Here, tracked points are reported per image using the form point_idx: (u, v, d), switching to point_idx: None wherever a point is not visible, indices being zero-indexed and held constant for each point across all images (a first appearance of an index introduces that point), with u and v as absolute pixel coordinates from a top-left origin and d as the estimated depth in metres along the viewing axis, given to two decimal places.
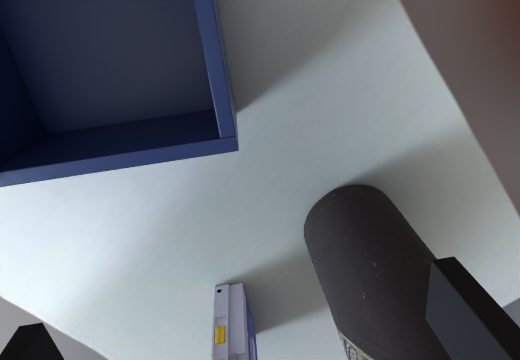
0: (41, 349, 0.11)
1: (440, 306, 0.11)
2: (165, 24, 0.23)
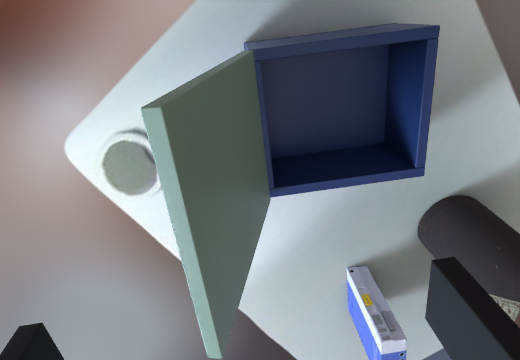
0: (41, 349, 0.11)
1: (440, 306, 0.11)
2: (360, 91, 0.35)
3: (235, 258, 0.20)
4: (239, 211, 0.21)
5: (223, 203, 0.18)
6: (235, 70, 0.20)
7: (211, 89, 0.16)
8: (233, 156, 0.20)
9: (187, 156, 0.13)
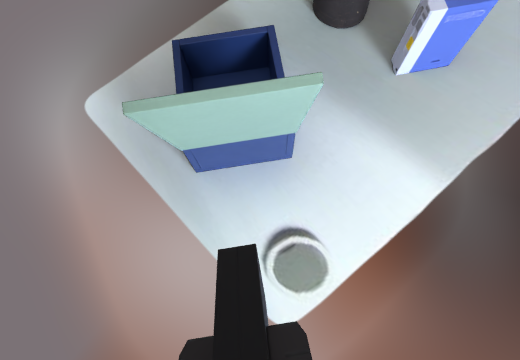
0: None
1: None
2: None
3: None
4: None
5: None
6: None
7: None
8: None
9: None
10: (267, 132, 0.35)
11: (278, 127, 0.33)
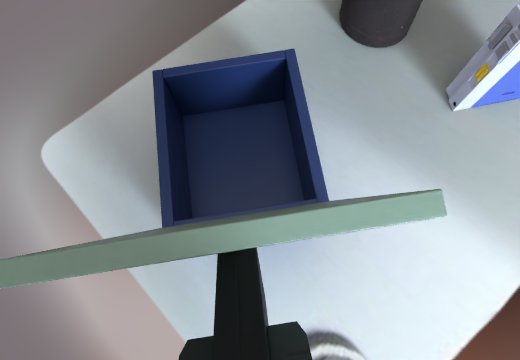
0: None
1: None
2: (232, 131, 0.36)
3: (319, 205, 0.14)
4: None
5: (227, 220, 0.14)
6: (139, 232, 0.20)
7: (101, 240, 0.15)
8: None
9: (95, 243, 0.11)
10: None
11: None
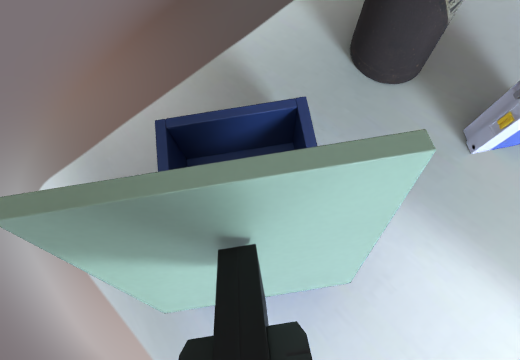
0: None
1: None
2: None
3: None
4: None
5: None
6: None
7: None
8: None
9: None
10: (304, 281, 0.21)
11: (323, 271, 0.20)
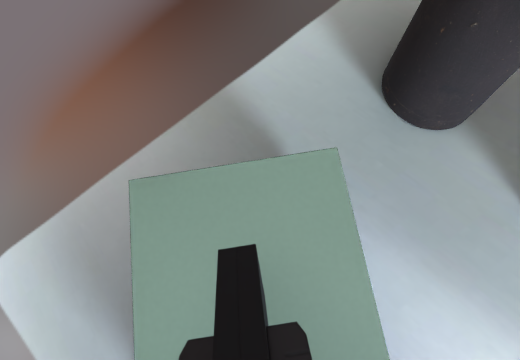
0: None
1: None
2: None
3: None
4: None
5: None
6: None
7: None
8: None
9: None
10: None
11: (343, 359, 0.17)
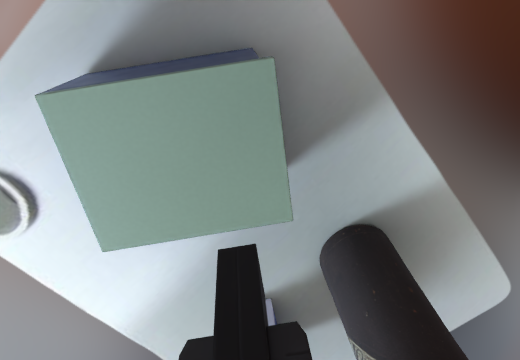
0: None
1: None
2: None
3: None
4: None
5: None
6: None
7: None
8: None
9: None
10: (122, 213, 0.26)
11: (147, 220, 0.27)
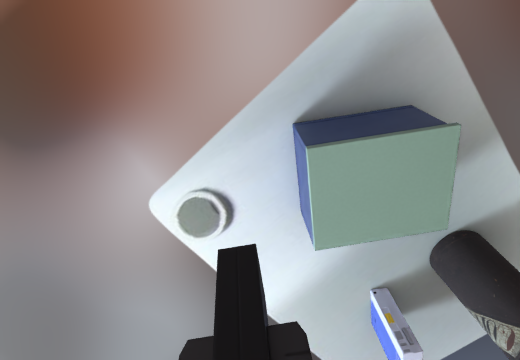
0: None
1: None
2: None
3: None
4: None
5: None
6: None
7: None
8: None
9: None
10: (336, 223, 0.38)
11: (351, 229, 0.39)
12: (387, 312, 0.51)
